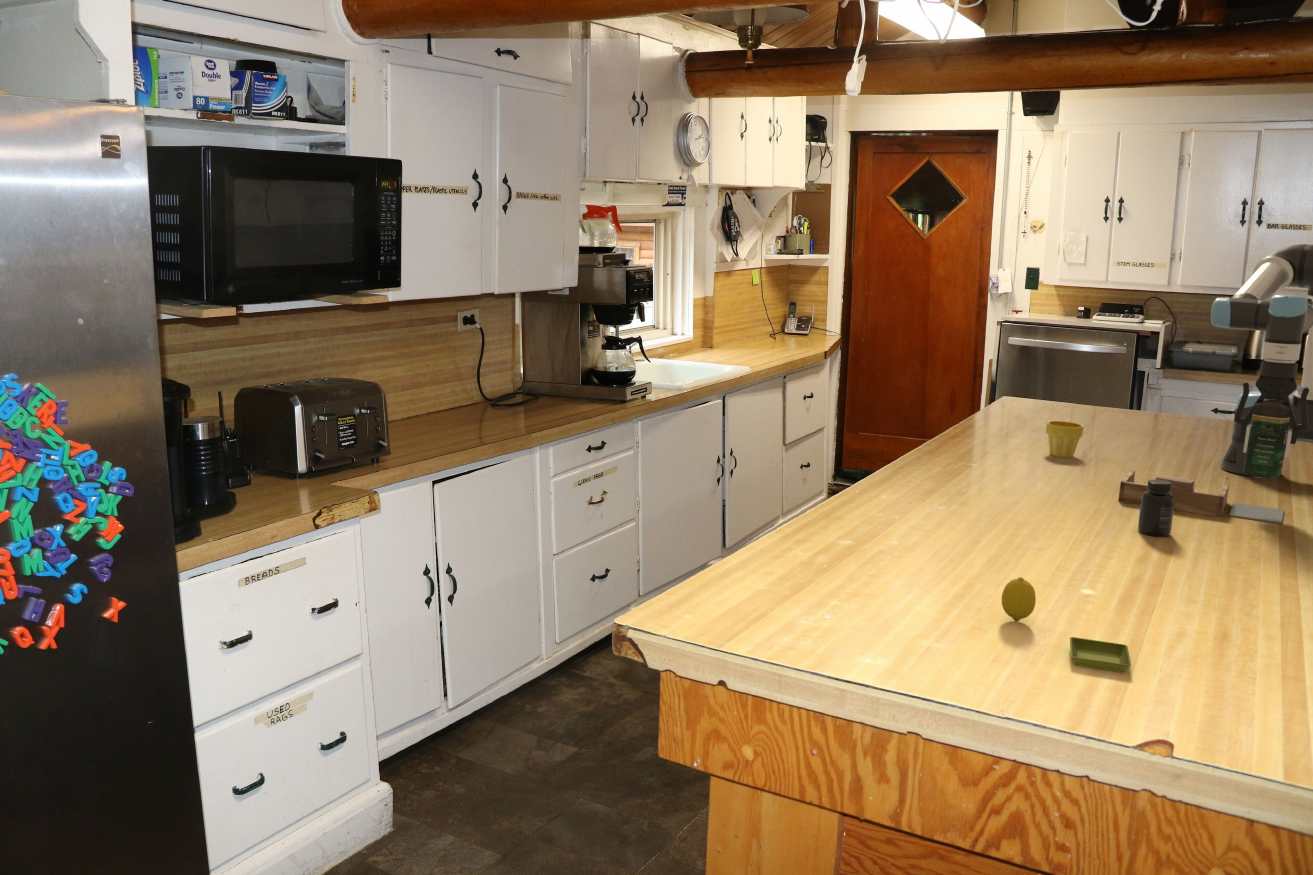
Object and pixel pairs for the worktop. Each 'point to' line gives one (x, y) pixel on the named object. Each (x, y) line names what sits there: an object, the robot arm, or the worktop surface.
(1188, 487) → the offcut top
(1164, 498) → the supplement bottle
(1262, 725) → the worktop surface
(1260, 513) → the mat
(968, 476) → the worktop surface
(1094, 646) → the green tray
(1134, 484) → the wooden open enclosure
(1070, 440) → the plant pot
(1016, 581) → the lemon
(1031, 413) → the worktop surface
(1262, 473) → the coffee jar
